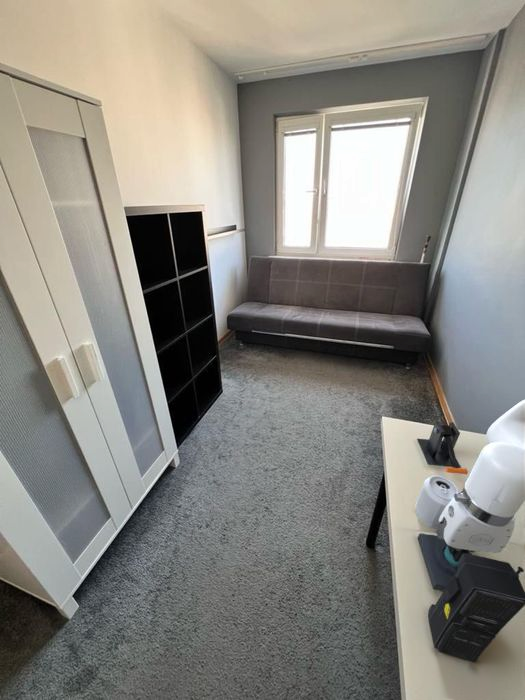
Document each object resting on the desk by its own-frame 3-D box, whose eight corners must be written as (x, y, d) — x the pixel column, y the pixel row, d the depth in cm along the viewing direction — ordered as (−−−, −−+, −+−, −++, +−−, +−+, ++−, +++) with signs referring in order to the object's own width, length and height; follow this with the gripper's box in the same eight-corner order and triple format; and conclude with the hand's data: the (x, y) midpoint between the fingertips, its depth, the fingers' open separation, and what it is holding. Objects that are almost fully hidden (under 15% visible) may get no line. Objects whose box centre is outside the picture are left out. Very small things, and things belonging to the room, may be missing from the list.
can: (447, 510, 72) (462, 480, 66) (447, 537, 67) (463, 507, 61) (415, 496, 76) (426, 467, 70) (412, 521, 70) (424, 492, 64)
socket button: (458, 550, 62) (460, 546, 61) (466, 569, 58) (468, 565, 58) (440, 548, 62) (442, 543, 61) (447, 566, 59) (449, 562, 58)
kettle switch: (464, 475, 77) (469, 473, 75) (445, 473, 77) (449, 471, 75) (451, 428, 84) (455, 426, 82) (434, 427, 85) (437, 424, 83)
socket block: (462, 544, 65) (468, 534, 63) (485, 597, 57) (493, 588, 55) (417, 538, 67) (421, 529, 65) (433, 589, 58) (438, 580, 56)
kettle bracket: (459, 469, 83) (472, 441, 77) (427, 466, 84) (437, 438, 78) (445, 443, 91) (456, 416, 85) (416, 441, 93) (425, 414, 87)
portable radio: (428, 650, 50) (475, 588, 38) (420, 608, 56) (459, 542, 43) (477, 665, 49) (543, 605, 37) (464, 620, 54) (518, 554, 42)
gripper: (450, 518, 48) (424, 569, 57) (548, 529, 46) (505, 580, 55) (433, 479, 55) (412, 531, 64) (519, 488, 53) (484, 540, 62)
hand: (455, 554), depth 59 cm, fingers closed
